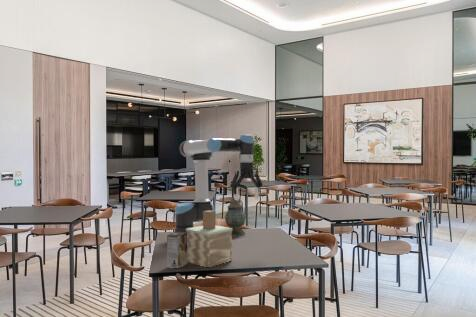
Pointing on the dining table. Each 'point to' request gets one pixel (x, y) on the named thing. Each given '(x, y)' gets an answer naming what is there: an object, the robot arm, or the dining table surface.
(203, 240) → the box
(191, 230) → the lid
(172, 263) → the coffee box
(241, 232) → the dark green urn
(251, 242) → the dining table surface
